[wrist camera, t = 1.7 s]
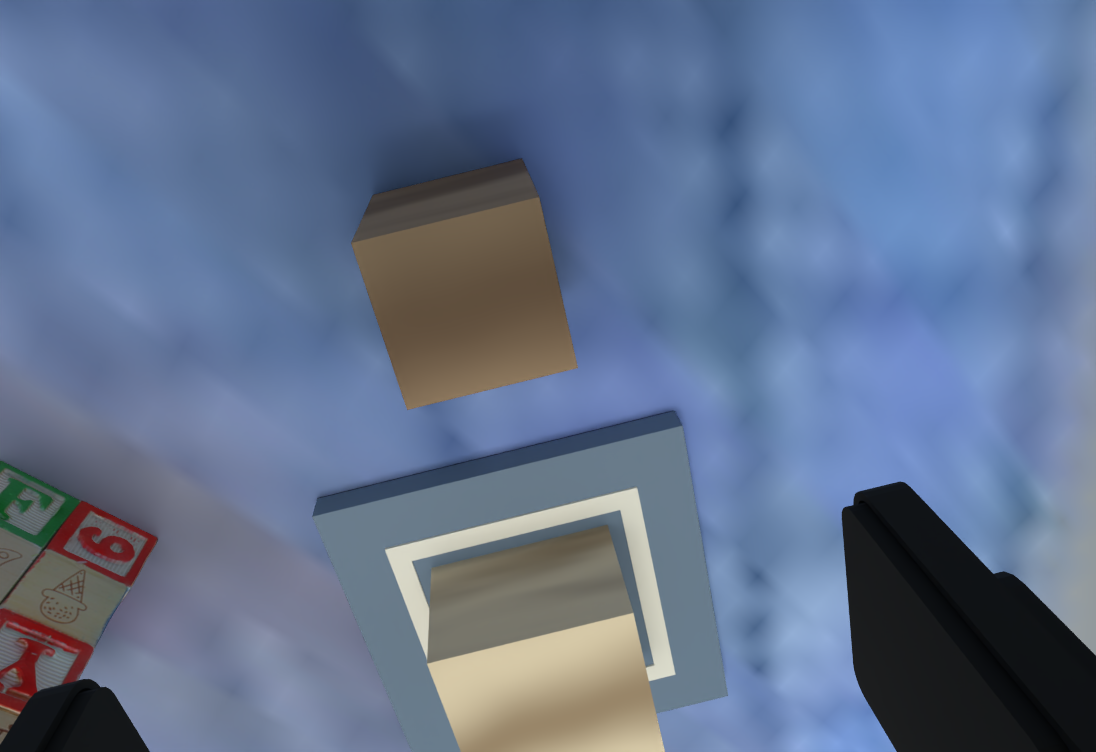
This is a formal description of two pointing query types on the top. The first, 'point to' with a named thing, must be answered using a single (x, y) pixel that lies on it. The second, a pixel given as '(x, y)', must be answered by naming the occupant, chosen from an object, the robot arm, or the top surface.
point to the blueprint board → (523, 518)
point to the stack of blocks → (56, 584)
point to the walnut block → (464, 284)
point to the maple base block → (541, 650)
